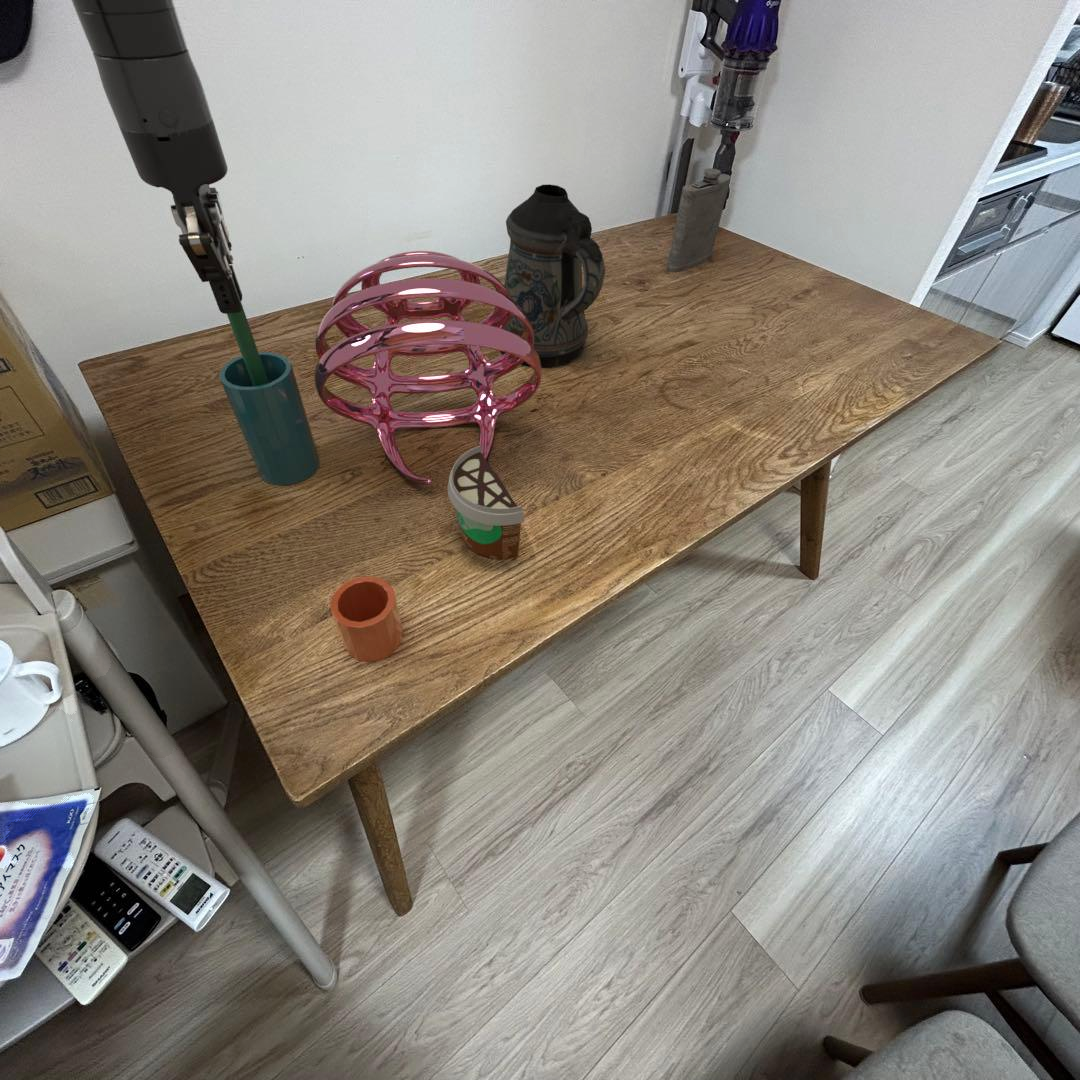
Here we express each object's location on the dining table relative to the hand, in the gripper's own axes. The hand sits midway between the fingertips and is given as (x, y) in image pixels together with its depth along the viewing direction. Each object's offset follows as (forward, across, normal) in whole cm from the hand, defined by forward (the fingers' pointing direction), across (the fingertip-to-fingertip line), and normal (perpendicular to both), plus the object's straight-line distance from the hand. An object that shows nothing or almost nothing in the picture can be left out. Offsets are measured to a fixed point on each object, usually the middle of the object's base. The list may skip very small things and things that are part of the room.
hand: (232, 305), depth 65 cm
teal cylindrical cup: (+23, 0, 0) cm, 23 cm away
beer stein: (+23, -22, +44) cm, 54 cm away
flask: (+23, -48, +85) cm, 100 cm away
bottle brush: (+17, 0, 0) cm, 17 cm away
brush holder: (+23, +31, +8) cm, 39 cm away
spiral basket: (+23, 0, +21) cm, 31 cm away
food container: (+23, +20, +22) cm, 38 cm away
